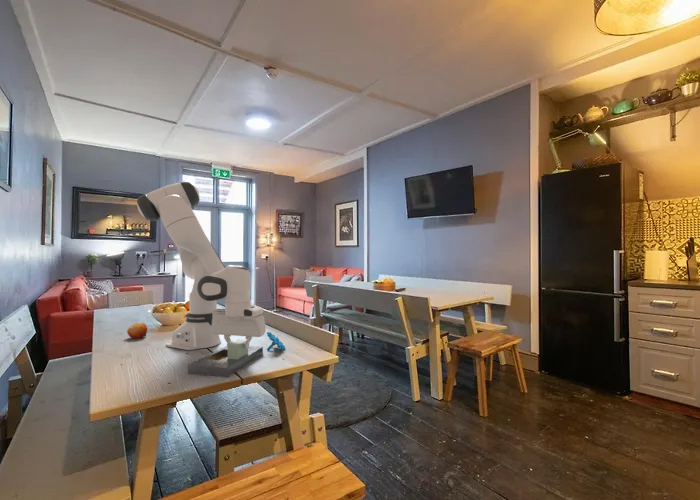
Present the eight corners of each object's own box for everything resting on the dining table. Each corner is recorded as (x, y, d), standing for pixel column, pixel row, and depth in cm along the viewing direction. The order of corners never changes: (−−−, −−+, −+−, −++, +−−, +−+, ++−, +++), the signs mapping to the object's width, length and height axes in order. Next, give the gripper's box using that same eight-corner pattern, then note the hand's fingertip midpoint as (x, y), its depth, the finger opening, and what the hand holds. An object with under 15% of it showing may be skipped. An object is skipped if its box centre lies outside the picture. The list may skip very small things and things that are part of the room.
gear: (285, 349, 134) (267, 332, 135) (274, 360, 133) (256, 343, 134) (287, 345, 145) (271, 329, 146) (277, 355, 144) (261, 339, 145)
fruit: (154, 333, 162) (145, 320, 159) (139, 344, 157) (130, 332, 153) (146, 330, 167) (137, 318, 163) (131, 342, 161) (121, 329, 157)
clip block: (227, 358, 119) (227, 344, 119) (238, 352, 126) (238, 339, 126) (237, 359, 118) (237, 345, 118) (248, 353, 125) (248, 340, 125)
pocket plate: (188, 373, 113) (188, 364, 113) (229, 352, 137) (229, 344, 137) (227, 377, 110) (227, 368, 110) (262, 354, 133) (262, 347, 133)
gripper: (207, 309, 122) (207, 348, 122) (258, 312, 117) (259, 351, 117) (217, 306, 128) (218, 343, 128) (267, 309, 123) (267, 346, 123)
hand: (238, 347), depth 122 cm, fingers open, 5 cm apart
